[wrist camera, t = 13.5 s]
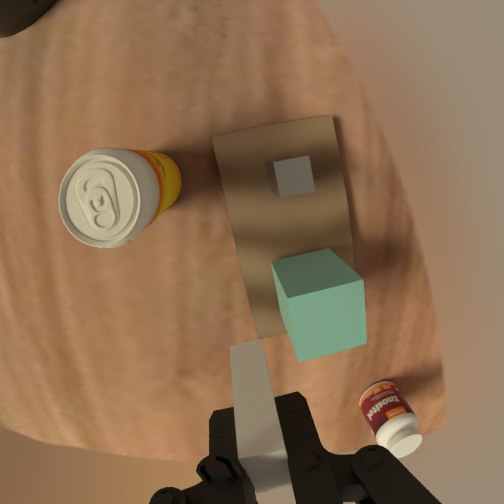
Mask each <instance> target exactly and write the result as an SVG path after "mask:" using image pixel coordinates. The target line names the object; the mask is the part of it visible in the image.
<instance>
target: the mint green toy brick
mask: <svg viewBox="0 0 504 504" xmlns="http://www.w3.org/2000/svg"><path fill="white" fill-rule="evenodd" d="M271 266H272V271H273V276H274V281H275V286H276V291H277V296H278V302H279V307H280V312H281V316H282V319H283V321H284V324H285V327H286V330H287V332H288V335H289V338H290V341H291V343H292V346H293V349H294V352H295V354H296V357H297V360H298V363H299V362H303V361H307V360H311V359H315V358H318V357H322V356H326V355H329V354H333V353H336V352H340V351H343V350H347V349H350V348H354V347H357V346H360V345H363V344H367V337H366V312H365V295H364V280H363V278H361V277H360V276H359V275H358V274H357V273H356V272H355V271H354V270H353V269H352V268H350V267H349V266H348V265H347V264H346V263H345V262H344V261H343V260H341V259H340V258H339V257H338V256H337V255H336V254H335V253H334V252H332V251H331V250H330V249H329V248H328V249H323V250H319V251H315V252H310V253H306V254H301V255H297V256H293V257H288V258H284V259H279V260H275V261H271Z"/></svg>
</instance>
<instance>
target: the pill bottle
mask: <svg viewBox="0 0 504 504" xmlns="http://www.w3.org/2000/svg"><path fill="white" fill-rule="evenodd" d="M359 405H360V408H361V411H362V413H363V415H364V417H365V419H366V421H367V423H368V425H369V427H370V429H371V431H372V433H373V435H374V437H375V439H376V441H377V443H378V444H379V445H380V446H383V447H385V448H387V449H388V450H389V451H390V452H391V453H392V454H393V455H394V456H395V457H396V458H401V457H404V456H406V455H408V454H410V453H411V452H413V451H414V450H415V449H416V448H417V447H418V446H419V445H420V443H421V442H422V435H421V434H420V432H419V430H418V429H417V428H418V424H419V423H418V419H417V417H416V415H415V414H414V412H413V411H412V409H411V408H410V406H409V405H408V403H407V402H406V400H405V399H404V397H403V396H402V394H401V393H400V391H399V390H398V388H397V387H396V386H395V384H394V383H392V382H389V381H382V382H378V383H376V384H374V385H372V386H370V387H369V388H368V389H367V390H366V391H365V392H364V393H363V394H362V396H361V398H360V401H359Z"/></svg>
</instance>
